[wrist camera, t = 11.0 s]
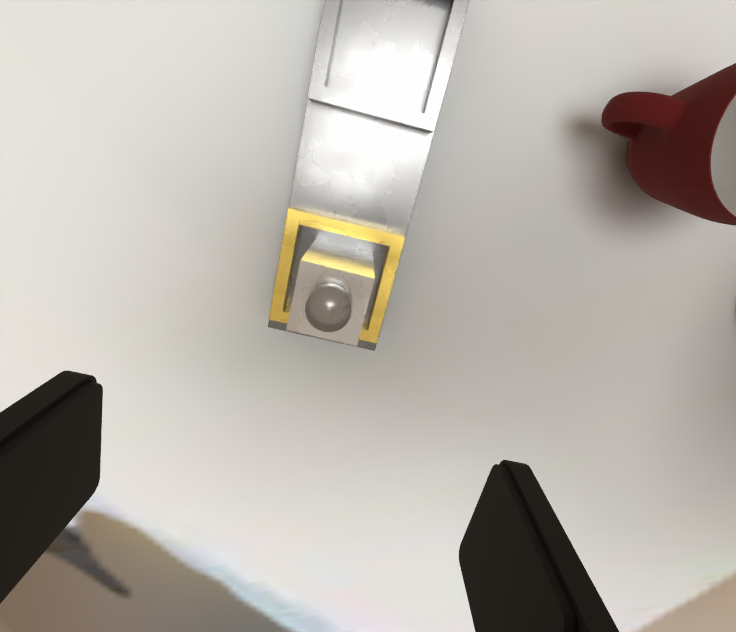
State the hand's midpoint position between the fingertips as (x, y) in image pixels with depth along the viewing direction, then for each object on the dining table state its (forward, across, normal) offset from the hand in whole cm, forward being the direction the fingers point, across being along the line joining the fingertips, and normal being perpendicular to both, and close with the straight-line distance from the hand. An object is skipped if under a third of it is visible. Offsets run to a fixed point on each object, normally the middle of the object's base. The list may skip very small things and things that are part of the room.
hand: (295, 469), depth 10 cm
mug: (+23, -18, -13) cm, 31 cm away
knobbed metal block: (+20, 0, 0) cm, 20 cm away
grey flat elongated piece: (+22, 0, -7) cm, 23 cm away
